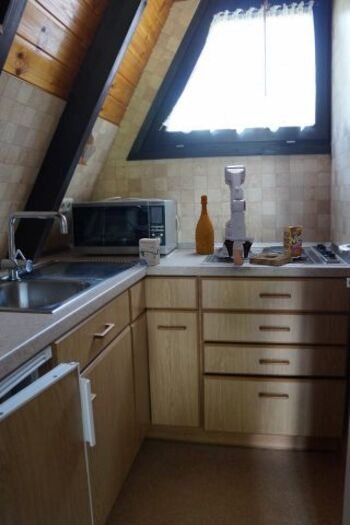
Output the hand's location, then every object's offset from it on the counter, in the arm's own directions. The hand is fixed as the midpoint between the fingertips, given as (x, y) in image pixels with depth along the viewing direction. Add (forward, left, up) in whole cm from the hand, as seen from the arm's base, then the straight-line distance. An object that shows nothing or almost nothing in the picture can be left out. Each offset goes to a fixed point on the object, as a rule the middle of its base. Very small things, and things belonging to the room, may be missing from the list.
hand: (238, 257), depth 191 cm
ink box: (-36, -19, -4) cm, 41 cm away
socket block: (+10, +12, -3) cm, 16 cm away
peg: (0, 0, -3) cm, 3 cm away
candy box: (+15, +25, -4) cm, 29 cm away
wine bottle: (-30, +18, -4) cm, 35 cm away
